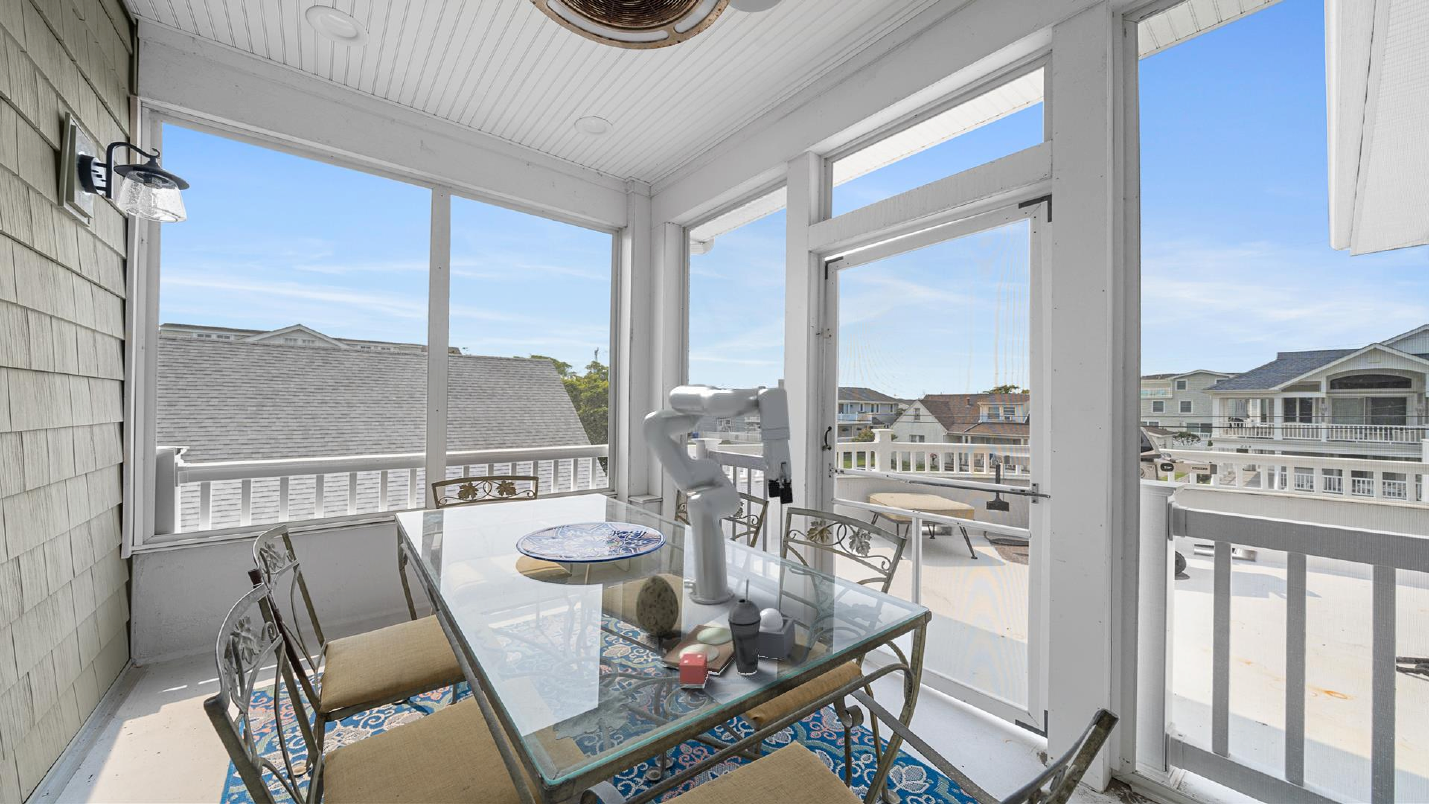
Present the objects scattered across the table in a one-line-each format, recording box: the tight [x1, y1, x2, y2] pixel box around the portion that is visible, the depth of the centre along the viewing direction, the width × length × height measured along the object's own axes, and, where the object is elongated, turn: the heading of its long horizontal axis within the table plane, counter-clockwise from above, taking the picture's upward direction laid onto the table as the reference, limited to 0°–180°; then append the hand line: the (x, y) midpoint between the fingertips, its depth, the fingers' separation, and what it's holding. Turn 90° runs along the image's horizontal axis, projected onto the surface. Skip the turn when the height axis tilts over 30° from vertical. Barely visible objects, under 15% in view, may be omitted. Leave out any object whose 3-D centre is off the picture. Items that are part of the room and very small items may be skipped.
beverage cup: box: [727, 578, 761, 674], centre depth 126 cm, size 7×7×20 cm
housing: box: [759, 616, 796, 661], centre depth 136 cm, size 9×9×6 cm
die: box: [679, 654, 709, 685], centre depth 123 cm, size 5×5×5 cm
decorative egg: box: [635, 574, 680, 637], centre depth 147 cm, size 11×11×15 cm
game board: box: [661, 624, 735, 673], centre depth 136 cm, size 14×20×2 cm
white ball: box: [760, 608, 783, 632], centre depth 136 cm, size 6×6×6 cm
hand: (780, 500), depth 151 cm, fingers open, 9 cm apart
